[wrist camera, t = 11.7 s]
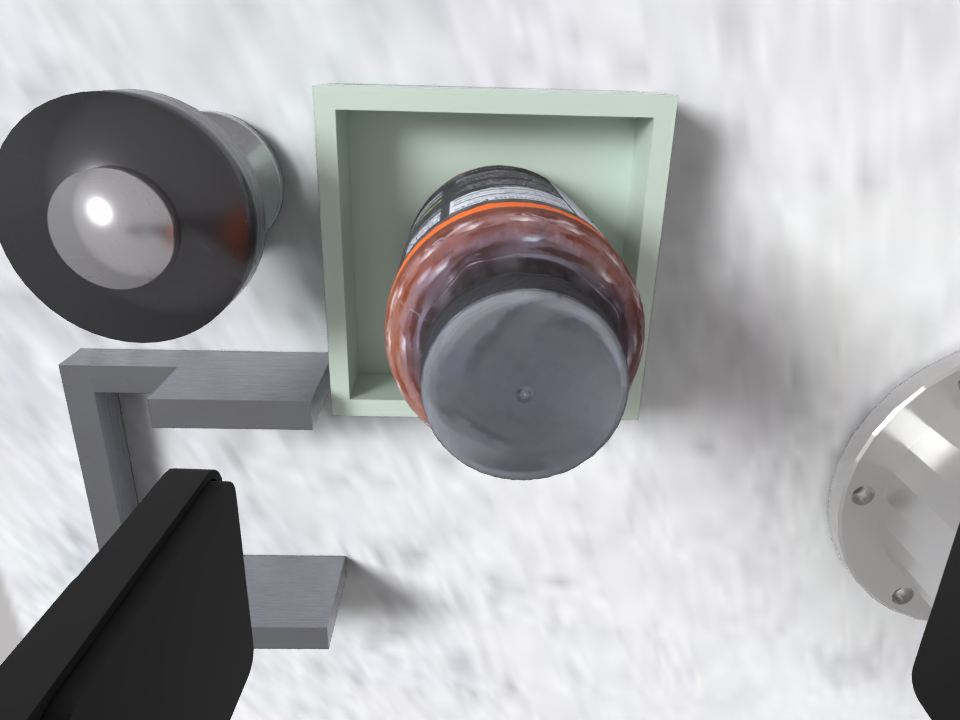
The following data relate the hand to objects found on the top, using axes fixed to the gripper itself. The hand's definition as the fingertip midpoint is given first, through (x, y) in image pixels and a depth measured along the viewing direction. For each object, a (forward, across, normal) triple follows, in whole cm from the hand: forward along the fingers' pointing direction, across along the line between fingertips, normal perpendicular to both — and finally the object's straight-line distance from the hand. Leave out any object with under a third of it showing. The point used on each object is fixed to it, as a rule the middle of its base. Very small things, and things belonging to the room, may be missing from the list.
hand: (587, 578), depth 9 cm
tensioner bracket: (+16, +12, +8) cm, 22 cm away
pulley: (+16, +10, -3) cm, 19 cm away
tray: (+16, +2, -1) cm, 17 cm away
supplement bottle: (+16, +1, -1) cm, 16 cm away
